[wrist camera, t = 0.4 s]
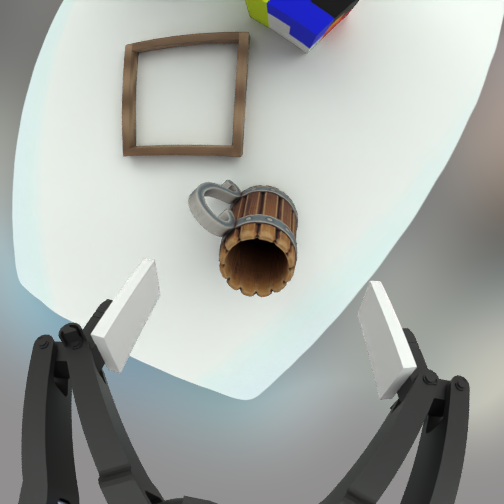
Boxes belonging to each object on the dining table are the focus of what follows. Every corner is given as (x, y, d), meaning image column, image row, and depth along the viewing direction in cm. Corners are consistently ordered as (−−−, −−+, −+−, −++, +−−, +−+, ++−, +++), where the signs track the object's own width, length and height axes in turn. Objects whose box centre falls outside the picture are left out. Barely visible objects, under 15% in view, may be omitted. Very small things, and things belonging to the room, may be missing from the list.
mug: (310, 218, 42) (325, 271, 29) (261, 257, 46) (255, 319, 33) (240, 145, 37) (219, 164, 24) (192, 193, 41) (155, 234, 28)
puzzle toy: (306, 53, 29) (316, 35, 21) (250, 16, 27) (242, -10, 18) (347, 14, 25) (367, -10, 16) (292, -22, 23) (296, -53, 14)
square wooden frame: (132, 47, 29) (125, 45, 28) (249, 36, 29) (248, 32, 27) (129, 153, 39) (123, 156, 37) (242, 154, 38) (240, 156, 36)
